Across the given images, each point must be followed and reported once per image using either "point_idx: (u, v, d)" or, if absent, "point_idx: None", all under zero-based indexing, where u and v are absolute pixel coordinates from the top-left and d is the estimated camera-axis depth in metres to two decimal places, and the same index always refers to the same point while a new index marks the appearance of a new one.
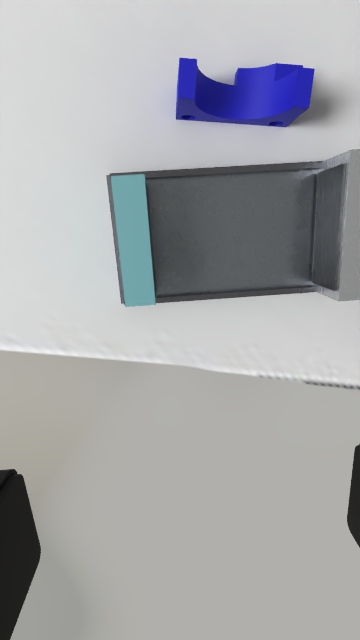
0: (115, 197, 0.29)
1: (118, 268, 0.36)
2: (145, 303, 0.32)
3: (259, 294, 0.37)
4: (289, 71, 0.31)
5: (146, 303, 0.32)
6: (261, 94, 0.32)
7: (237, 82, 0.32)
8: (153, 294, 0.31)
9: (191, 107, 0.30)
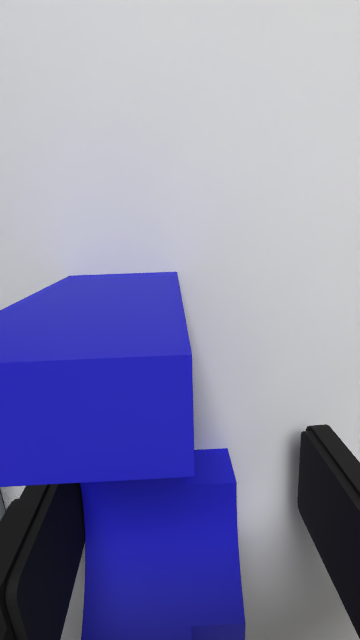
0: None
1: None
2: None
3: None
4: None
5: None
6: (158, 575, 0.09)
7: (195, 484, 0.09)
8: None
9: None
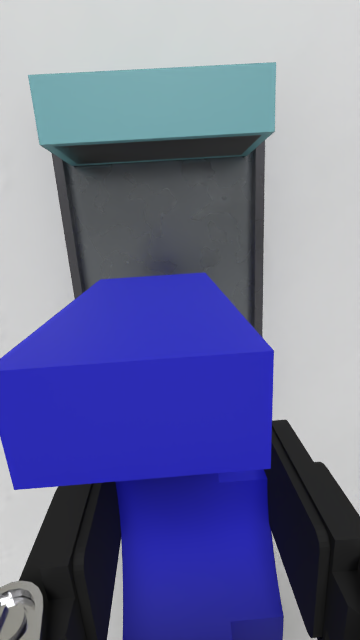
0: (239, 69, 0.15)
1: None
2: (39, 122, 0.16)
3: None
4: None
5: (40, 124, 0.16)
6: (195, 572, 0.09)
7: (228, 481, 0.09)
8: (60, 141, 0.16)
9: None
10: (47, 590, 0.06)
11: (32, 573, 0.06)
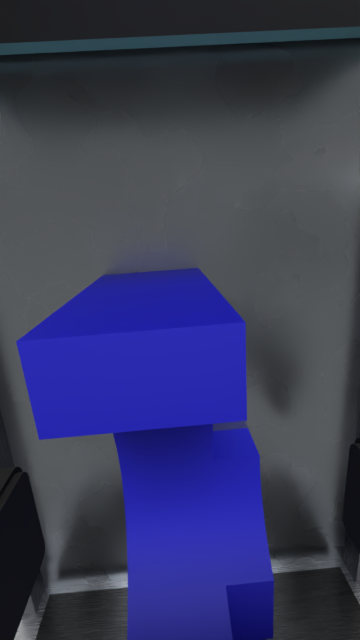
0: None
1: None
2: None
3: None
4: (255, 614, 0.10)
5: None
6: (193, 542, 0.10)
7: (222, 458, 0.10)
8: None
9: None
10: None
11: None
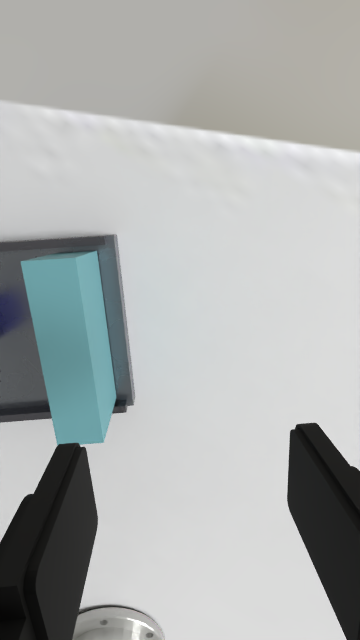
0: (96, 418, 0.20)
1: (118, 291, 0.24)
2: (39, 263, 0.17)
3: None
4: None
5: (37, 263, 0.17)
6: None
7: None
8: (26, 280, 0.18)
9: None
10: None
11: None
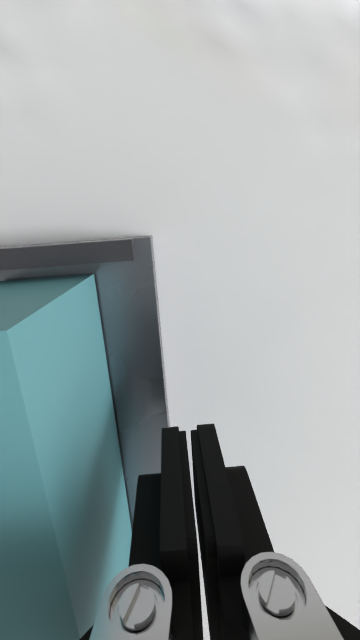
0: None
1: (157, 357, 0.11)
2: None
3: None
4: None
5: None
6: None
7: None
8: None
9: None
10: (163, 573, 0.06)
11: (140, 558, 0.06)
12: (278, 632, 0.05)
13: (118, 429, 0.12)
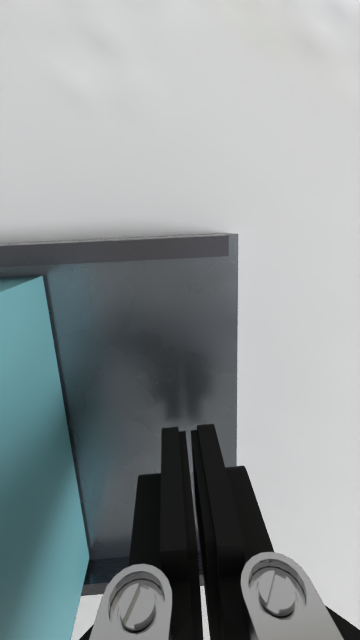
0: None
1: (233, 353, 0.11)
2: None
3: None
4: None
5: None
6: None
7: None
8: None
9: None
10: (163, 573, 0.06)
11: (140, 558, 0.06)
12: (278, 632, 0.05)
13: (188, 423, 0.12)
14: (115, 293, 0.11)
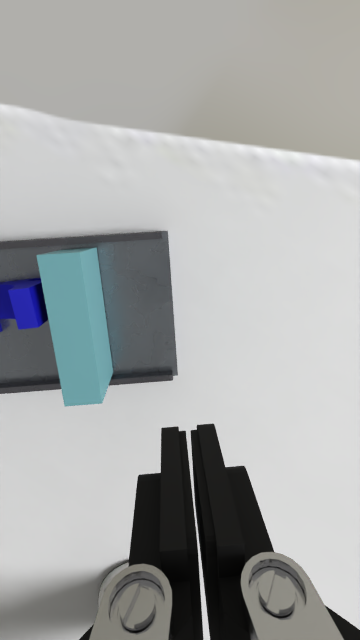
0: (96, 383, 0.25)
1: (169, 277, 0.29)
2: (51, 256, 0.22)
3: None
4: None
5: (49, 256, 0.22)
6: None
7: None
8: (40, 269, 0.22)
9: (22, 285, 0.25)
10: (164, 573, 0.06)
11: (140, 558, 0.06)
12: (278, 632, 0.05)
13: (153, 308, 0.30)
14: (122, 253, 0.28)
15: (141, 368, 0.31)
